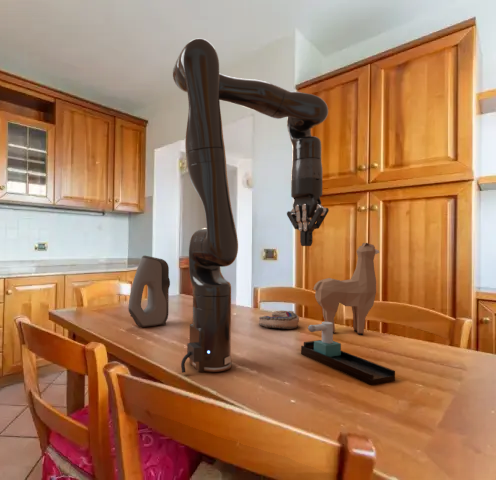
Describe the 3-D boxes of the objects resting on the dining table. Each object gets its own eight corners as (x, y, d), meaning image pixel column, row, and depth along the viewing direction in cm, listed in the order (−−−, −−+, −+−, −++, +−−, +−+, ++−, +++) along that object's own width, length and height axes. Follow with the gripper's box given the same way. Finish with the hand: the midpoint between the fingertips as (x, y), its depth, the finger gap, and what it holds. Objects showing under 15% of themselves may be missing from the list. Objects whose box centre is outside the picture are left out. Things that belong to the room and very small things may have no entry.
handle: (314, 359, 81) (314, 326, 82) (303, 354, 85) (303, 322, 85) (341, 355, 84) (341, 323, 84) (328, 350, 88) (328, 320, 88)
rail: (371, 385, 70) (371, 370, 70) (301, 353, 89) (301, 342, 89) (395, 380, 72) (395, 366, 72) (321, 351, 92) (321, 339, 92)
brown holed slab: (170, 324, 121) (170, 255, 121) (132, 330, 112) (133, 256, 112) (161, 321, 126) (161, 254, 126) (124, 326, 117) (125, 255, 117)
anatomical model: (252, 325, 120) (252, 312, 120) (279, 319, 130) (279, 307, 130) (281, 332, 110) (281, 318, 110) (308, 325, 120) (308, 312, 120)
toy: (384, 338, 105) (384, 242, 105) (316, 334, 109) (316, 242, 109) (373, 330, 114) (374, 242, 114) (310, 327, 118) (311, 242, 118)
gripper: (278, 182, 91) (277, 245, 91) (314, 172, 78) (313, 246, 78) (300, 184, 93) (300, 245, 93) (338, 175, 81) (338, 246, 81)
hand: (306, 246), depth 86 cm, fingers closed
